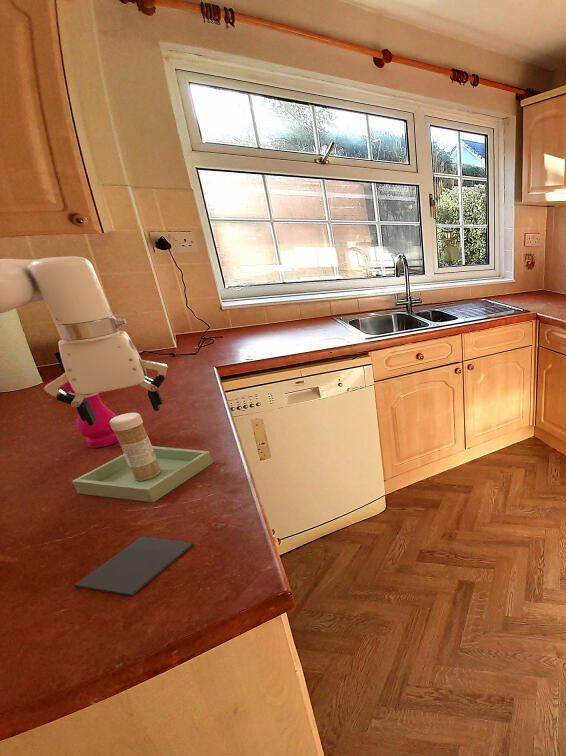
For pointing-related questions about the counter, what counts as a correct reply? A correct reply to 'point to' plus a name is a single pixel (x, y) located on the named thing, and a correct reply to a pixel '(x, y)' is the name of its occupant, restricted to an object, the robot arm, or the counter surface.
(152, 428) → the counter surface
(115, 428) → the sprinkles bottle
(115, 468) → the tray
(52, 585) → the counter surface
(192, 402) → the counter surface
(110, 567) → the mat
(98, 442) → the pepper mill
